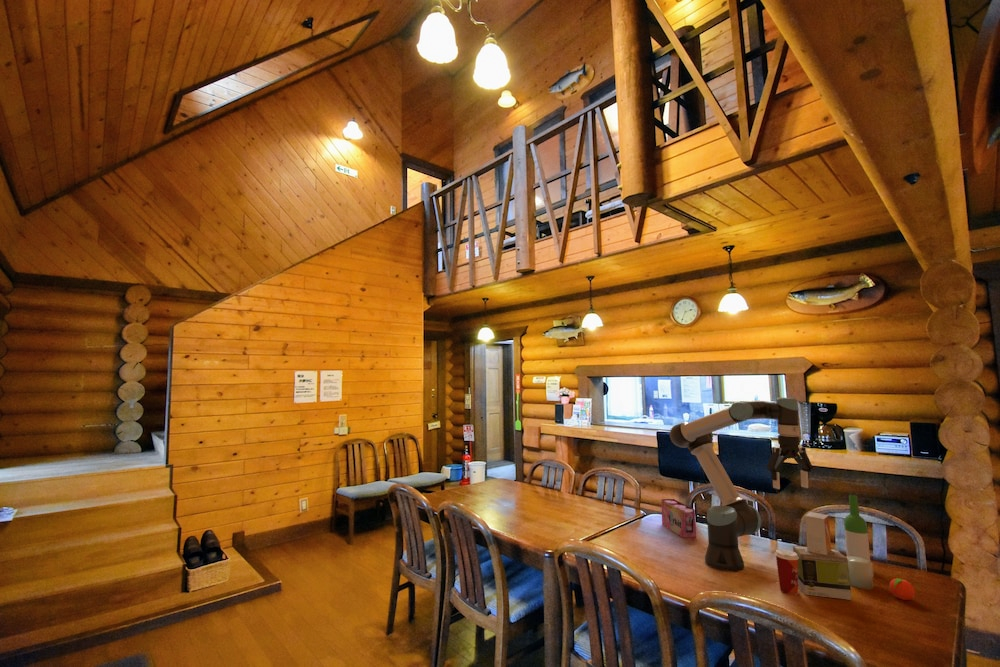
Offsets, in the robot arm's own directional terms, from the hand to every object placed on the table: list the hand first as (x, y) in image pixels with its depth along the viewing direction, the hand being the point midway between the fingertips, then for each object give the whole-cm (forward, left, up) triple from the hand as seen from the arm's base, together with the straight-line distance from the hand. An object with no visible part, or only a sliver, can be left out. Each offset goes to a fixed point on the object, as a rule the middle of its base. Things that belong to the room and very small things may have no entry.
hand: (790, 487), depth 183 cm
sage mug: (+20, -10, -35) cm, 42 cm away
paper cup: (-13, -9, -35) cm, 39 cm away
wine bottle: (+34, +2, -35) cm, 49 cm away
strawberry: (+22, -23, -35) cm, 48 cm away
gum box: (-10, +63, -36) cm, 73 cm away
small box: (-1, -12, -21) cm, 24 cm away
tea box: (-1, -12, -36) cm, 37 cm away
